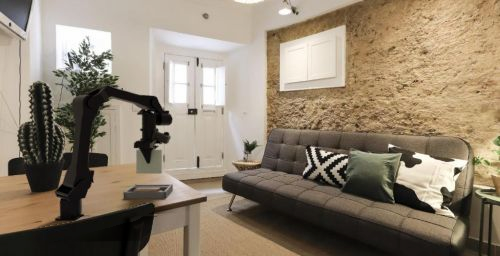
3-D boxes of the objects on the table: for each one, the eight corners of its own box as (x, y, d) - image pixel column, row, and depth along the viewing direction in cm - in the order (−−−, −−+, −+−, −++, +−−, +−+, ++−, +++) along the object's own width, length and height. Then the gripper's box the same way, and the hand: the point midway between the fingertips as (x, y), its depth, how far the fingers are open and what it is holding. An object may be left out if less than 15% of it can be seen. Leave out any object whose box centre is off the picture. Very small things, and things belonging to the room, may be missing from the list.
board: (160, 173, 111) (160, 149, 111) (136, 173, 110) (136, 149, 110) (161, 172, 113) (161, 149, 112) (137, 172, 112) (137, 149, 112)
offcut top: (156, 193, 105) (156, 190, 105) (133, 194, 104) (133, 191, 104) (159, 190, 110) (159, 187, 110) (137, 190, 109) (137, 187, 109)
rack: (165, 199, 103) (165, 191, 103) (123, 200, 102) (123, 192, 102) (172, 190, 115) (172, 184, 115) (135, 191, 114) (135, 184, 114)
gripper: (162, 127, 102) (162, 167, 102) (173, 125, 121) (173, 159, 121) (133, 126, 101) (133, 167, 102) (148, 125, 120) (148, 159, 120)
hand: (149, 163), depth 111 cm, fingers closed on board, 2 cm apart
